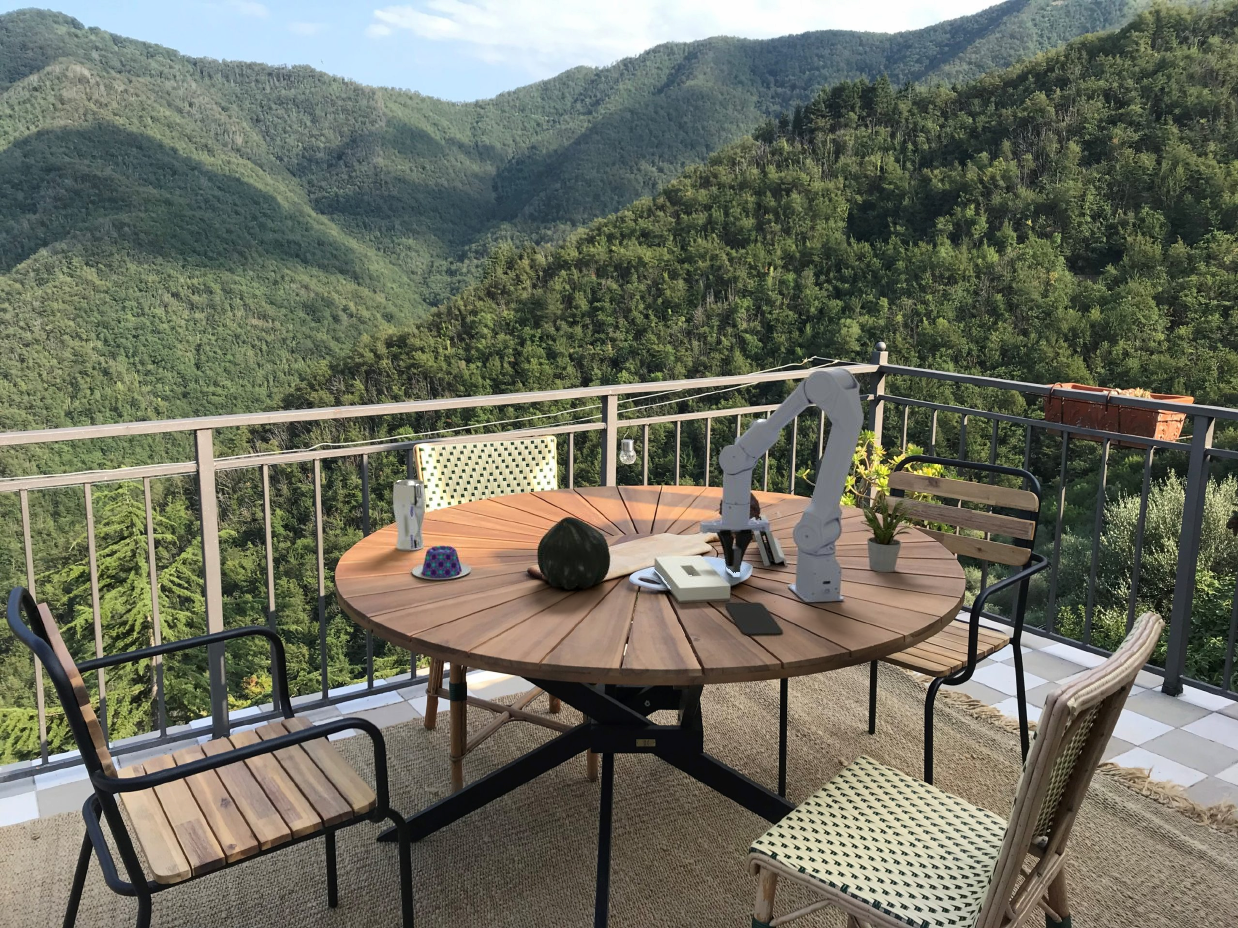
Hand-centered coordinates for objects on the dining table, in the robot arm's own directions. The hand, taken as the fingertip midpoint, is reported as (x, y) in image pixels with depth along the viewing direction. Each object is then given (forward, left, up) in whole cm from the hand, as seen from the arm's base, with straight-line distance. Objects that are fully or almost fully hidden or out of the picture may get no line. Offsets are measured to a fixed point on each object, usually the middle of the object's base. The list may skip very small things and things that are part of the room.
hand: (733, 564), depth 182 cm
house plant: (-1, -35, -2) cm, 35 cm away
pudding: (+9, +60, -2) cm, 61 cm away
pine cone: (+36, -14, -2) cm, 39 cm away
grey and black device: (+12, -12, -2) cm, 17 cm away
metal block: (0, 0, -2) cm, 2 cm away
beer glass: (+28, +67, -2) cm, 73 cm away
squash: (-2, +34, -2) cm, 34 cm away
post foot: (-6, +11, -2) cm, 13 cm away
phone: (-26, +5, -2) cm, 27 cm away
